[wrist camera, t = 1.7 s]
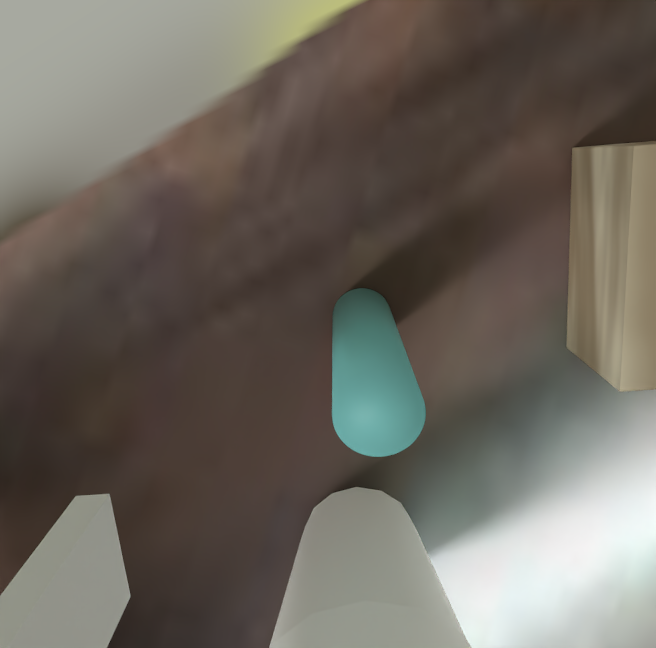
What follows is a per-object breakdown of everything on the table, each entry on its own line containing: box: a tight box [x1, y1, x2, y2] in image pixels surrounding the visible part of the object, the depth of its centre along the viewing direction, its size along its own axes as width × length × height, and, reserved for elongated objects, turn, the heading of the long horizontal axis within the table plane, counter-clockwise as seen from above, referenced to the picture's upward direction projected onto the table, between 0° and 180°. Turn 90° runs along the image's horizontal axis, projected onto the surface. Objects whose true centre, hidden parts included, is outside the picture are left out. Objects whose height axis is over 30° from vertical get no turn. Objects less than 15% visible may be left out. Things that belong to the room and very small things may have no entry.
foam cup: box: [269, 487, 471, 648], centre depth 28 cm, size 10×9×13 cm
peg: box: [332, 288, 426, 457], centre depth 25 cm, size 3×3×12 cm
